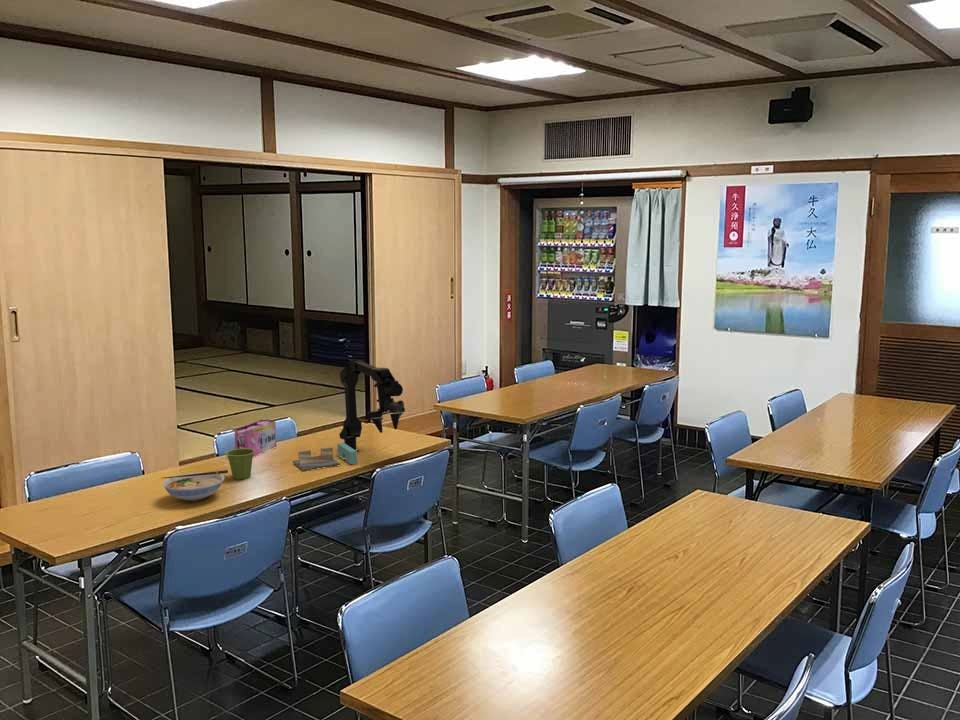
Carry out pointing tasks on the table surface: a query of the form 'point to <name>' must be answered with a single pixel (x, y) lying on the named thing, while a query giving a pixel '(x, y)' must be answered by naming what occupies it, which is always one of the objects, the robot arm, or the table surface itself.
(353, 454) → the teal slotted plate
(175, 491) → the ramen bowl
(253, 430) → the gum box
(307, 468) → the slotted base
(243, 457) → the plant pot
